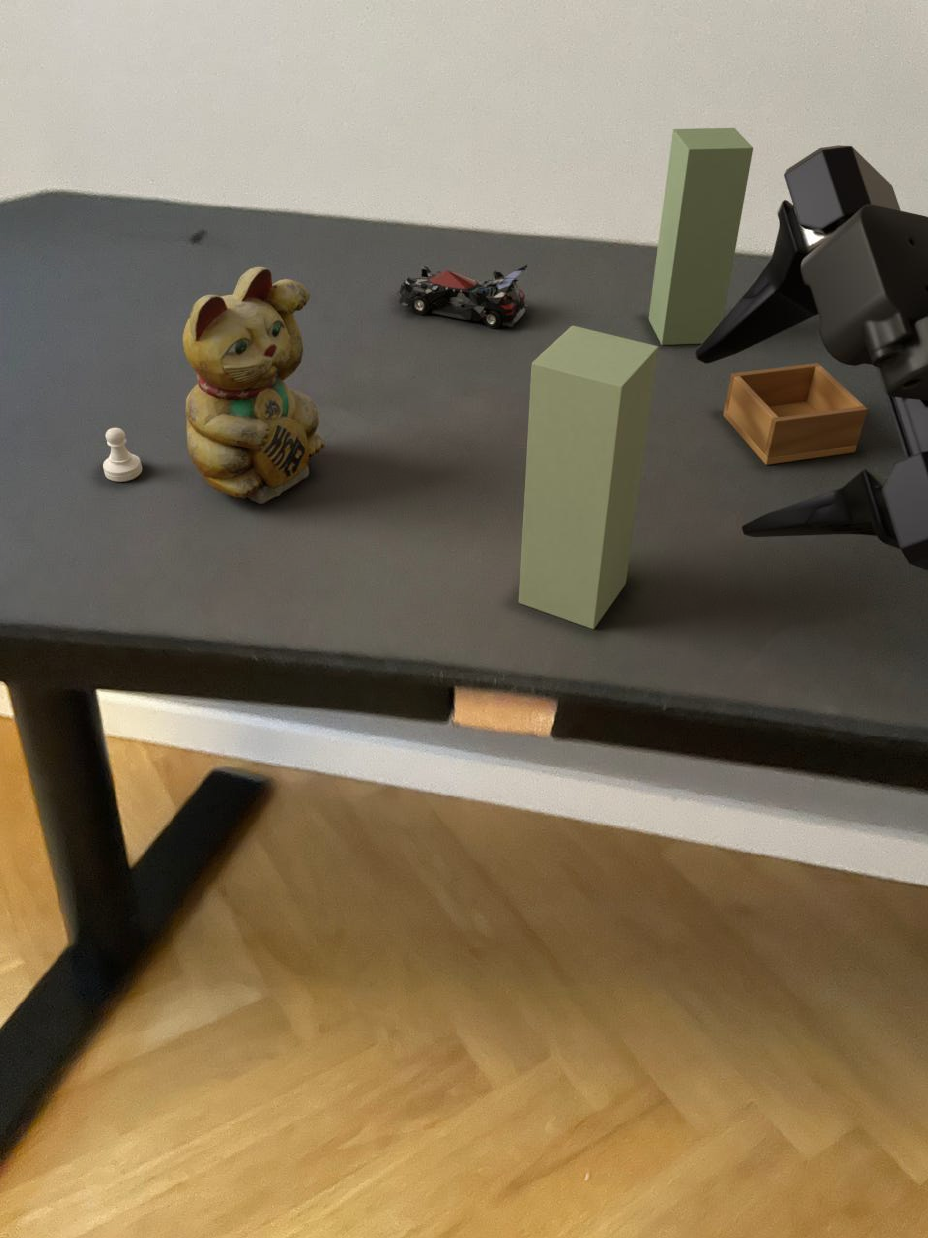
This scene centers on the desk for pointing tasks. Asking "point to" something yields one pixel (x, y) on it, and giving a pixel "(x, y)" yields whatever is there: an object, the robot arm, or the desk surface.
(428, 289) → the toy car
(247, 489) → the decorative figurine
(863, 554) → the desk surface
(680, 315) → the pillar
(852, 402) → the small open wooden box
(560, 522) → the sage green pillar
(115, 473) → the chess pawn
